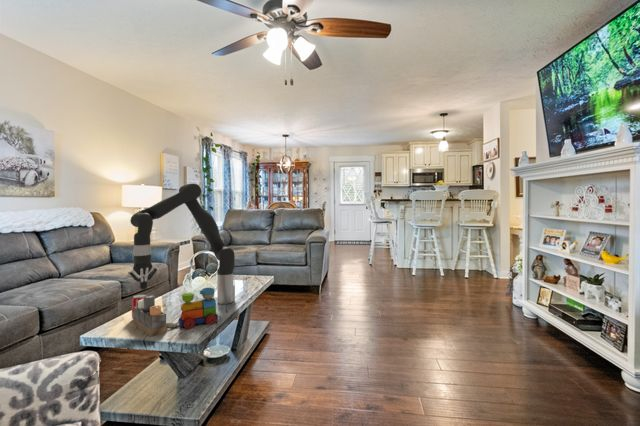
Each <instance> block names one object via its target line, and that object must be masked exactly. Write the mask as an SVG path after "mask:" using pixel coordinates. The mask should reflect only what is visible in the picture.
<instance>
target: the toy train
mask: <svg viewBox="0 0 640 426" xmlns="http://www.w3.org/2000/svg"><path fill="white" fill-rule="evenodd" d="M199 295H201V296H202V298H203V299H201V300H196V301H195V300H194V298H195V297H194V296H195V293H193V292H188V293H187V292H186V293H182V294H181V298H182V301H183V302H184V303H182V304H181V306H180V309H181V310H180V311H181V313H180V316H179V318H178V321H177V322H176V323H174V322H166V325H167V329H171V328H176V327H178V326H180V327H181V328H183V327H184V328H185V329H186V330H191V329H193V328H194V327H195V326H196V325H199V324H203V323H206V324H207V325H209V326H210V325H214V324H215V323H216V321H218V320H219V315H218V314H217V303H216V302H217V301H216V299H215V298H214V295H215V288H213V287H204V288H201V290H199ZM193 300H194V301H193ZM178 324H179V325H178Z"/></svg>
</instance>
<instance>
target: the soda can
mask: <svg viewBox="0 0 640 426" xmlns="http://www.w3.org/2000/svg"><path fill="white" fill-rule="evenodd" d="M146 296H147V294H144V293H143V294H135V295H133V296H132V299H131V318H132V320H133V321H134V307H137V306H138V301H139V300H142V299H144V297H146Z"/></svg>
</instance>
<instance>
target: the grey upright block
mask: <svg viewBox="0 0 640 426" xmlns="http://www.w3.org/2000/svg"><path fill="white" fill-rule="evenodd" d="M155 296H156V295H146V297H144V312H146V313H147V312H150V307H152V306H156V304H155V302H156V299H155V298H156V297H155Z"/></svg>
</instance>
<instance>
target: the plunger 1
mask: <svg viewBox="0 0 640 426" xmlns="http://www.w3.org/2000/svg"><path fill="white" fill-rule="evenodd" d="M138 309H144V299H142V300H139V301H138Z"/></svg>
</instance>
